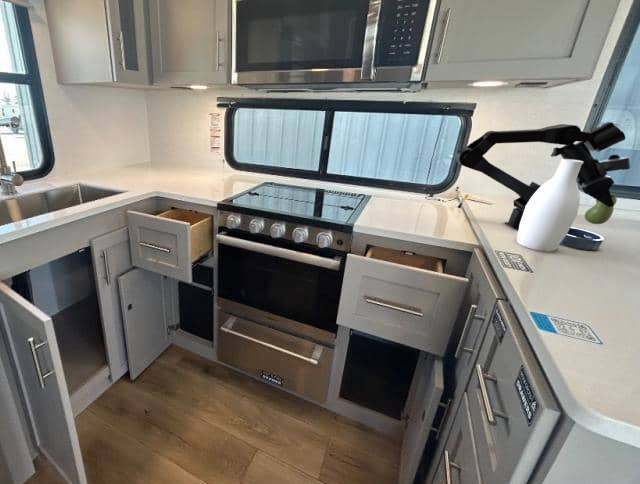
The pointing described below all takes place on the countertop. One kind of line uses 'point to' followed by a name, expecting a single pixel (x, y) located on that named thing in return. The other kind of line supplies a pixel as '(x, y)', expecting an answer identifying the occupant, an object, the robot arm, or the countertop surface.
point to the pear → (600, 212)
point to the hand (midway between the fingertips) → (610, 204)
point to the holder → (582, 239)
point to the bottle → (551, 209)
